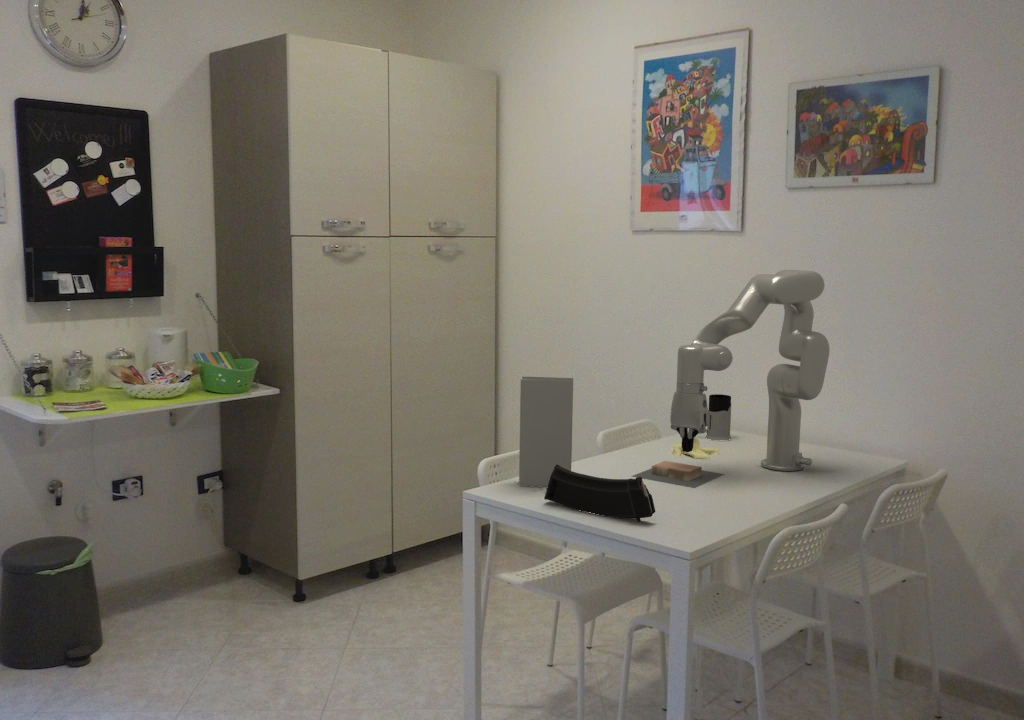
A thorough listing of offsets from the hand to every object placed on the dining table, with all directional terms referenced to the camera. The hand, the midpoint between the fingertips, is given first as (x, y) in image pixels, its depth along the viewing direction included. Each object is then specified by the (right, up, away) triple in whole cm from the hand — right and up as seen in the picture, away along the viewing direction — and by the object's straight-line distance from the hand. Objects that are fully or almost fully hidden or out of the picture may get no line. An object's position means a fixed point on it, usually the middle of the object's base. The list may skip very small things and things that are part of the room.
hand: (687, 451), depth 270 cm
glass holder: (+19, -1, +57) cm, 60 cm away
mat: (-2, -8, +3) cm, 9 cm away
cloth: (+7, -5, +33) cm, 34 cm away
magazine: (-29, -13, -34) cm, 47 cm away
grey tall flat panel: (-41, -9, -8) cm, 43 cm away
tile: (-7, -5, +6) cm, 11 cm away
